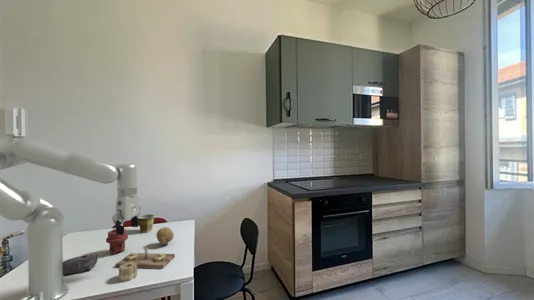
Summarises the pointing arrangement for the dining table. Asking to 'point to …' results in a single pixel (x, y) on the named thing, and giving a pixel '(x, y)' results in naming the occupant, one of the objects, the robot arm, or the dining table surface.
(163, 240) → the natural sponge
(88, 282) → the dining table surface
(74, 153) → the robot arm
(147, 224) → the ceramic cup
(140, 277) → the dining table surface
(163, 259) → the gear board
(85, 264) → the perforated stone tool
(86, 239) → the dining table surface
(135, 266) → the birch gear
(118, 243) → the mechanical component
